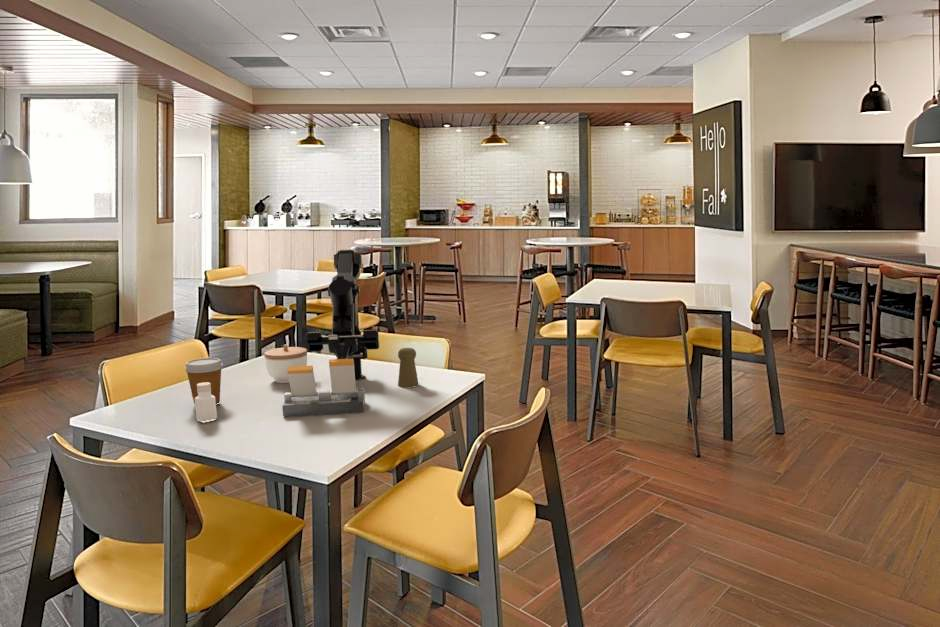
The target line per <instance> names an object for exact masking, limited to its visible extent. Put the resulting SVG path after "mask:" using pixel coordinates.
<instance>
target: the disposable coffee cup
mask: <svg viewBox="0 0 940 627" xmlns="http://www.w3.org/2000/svg"><path fill="white" fill-rule="evenodd" d="M223 366H224V363H223V362H222V360H221V358H219V357H203V358H195V359H192V360H189V361H186V363H185V366H184V370H185V372H186V374H187V378H188V382H189V387H190V392H191V396H192V400H193V405H194V404H195V398H196V397H197V396H198V392H197V384H199V383H203V382H209V383H211V395H213V396H215V400H216V404H217V403H219V402H220V401H221V383H222V382H221V380H222V368H223Z"/></svg>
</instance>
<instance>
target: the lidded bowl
mask: <svg viewBox="0 0 940 627" xmlns="http://www.w3.org/2000/svg"><path fill="white" fill-rule="evenodd" d="M264 362H265V367H266V370H267V373H268V375H269V376H270V377H271V378H272V379H273V380H275V382H276V383H279V384H290V382H289V377H288V372H287V369H288V367H292V366H308V350H307V348H306V347H300V346H289V345H288V344H283V346H282V347H276V348H272V349H268V350H266V351H264Z"/></svg>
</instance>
